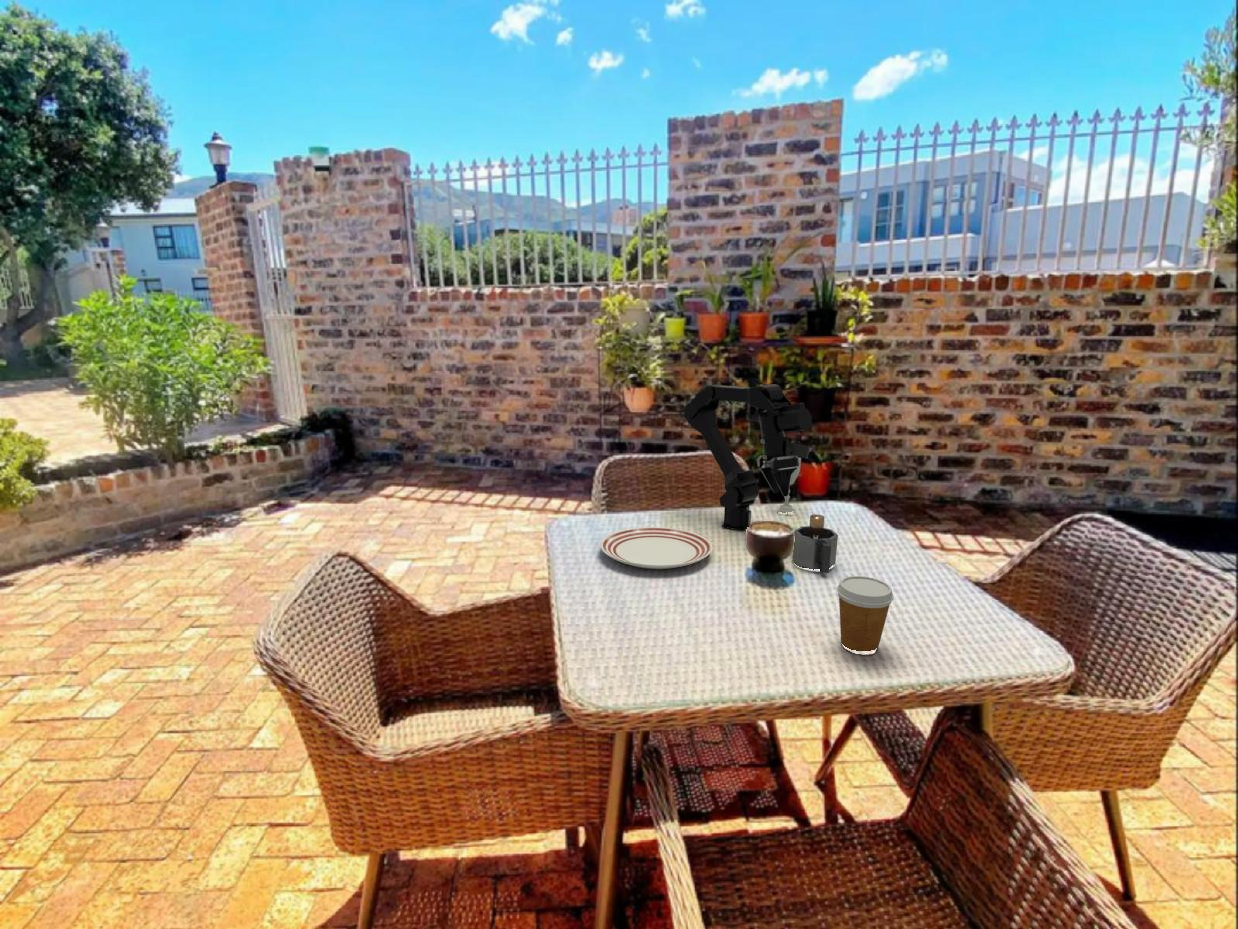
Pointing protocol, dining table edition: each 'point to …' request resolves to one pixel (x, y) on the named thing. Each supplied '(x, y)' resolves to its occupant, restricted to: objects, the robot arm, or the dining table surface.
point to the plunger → (816, 525)
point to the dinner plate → (656, 547)
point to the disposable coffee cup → (863, 611)
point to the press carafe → (815, 549)
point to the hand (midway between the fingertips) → (780, 494)
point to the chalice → (786, 506)
